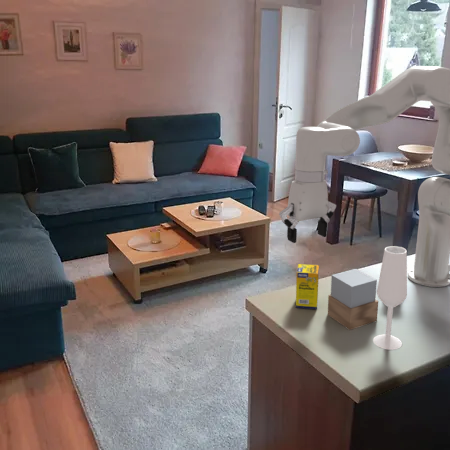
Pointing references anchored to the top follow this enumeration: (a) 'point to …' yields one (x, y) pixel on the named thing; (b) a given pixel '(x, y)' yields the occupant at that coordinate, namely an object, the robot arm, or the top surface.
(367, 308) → the tower base block
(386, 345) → the champagne flute
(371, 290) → the tower top block
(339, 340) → the top surface
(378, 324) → the top surface
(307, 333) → the top surface
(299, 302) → the supplement box
